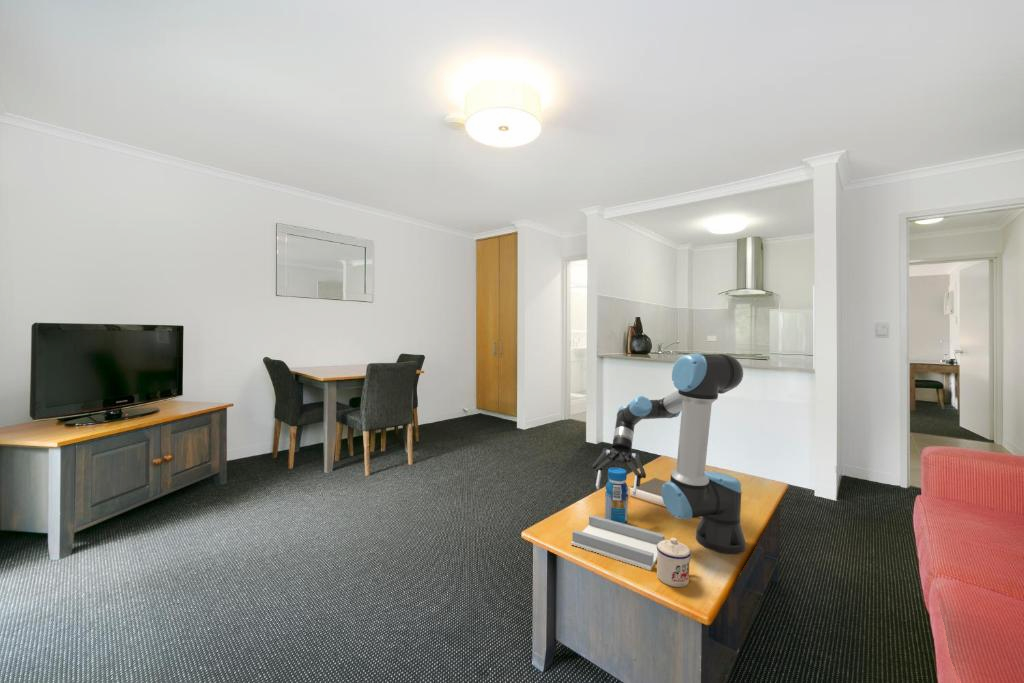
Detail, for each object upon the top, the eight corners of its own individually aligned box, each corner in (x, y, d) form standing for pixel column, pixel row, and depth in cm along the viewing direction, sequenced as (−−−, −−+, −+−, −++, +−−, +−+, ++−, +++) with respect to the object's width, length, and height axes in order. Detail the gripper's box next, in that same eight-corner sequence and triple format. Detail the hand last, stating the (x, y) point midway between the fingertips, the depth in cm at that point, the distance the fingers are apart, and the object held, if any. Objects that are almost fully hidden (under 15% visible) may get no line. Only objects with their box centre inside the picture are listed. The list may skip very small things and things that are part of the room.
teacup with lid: (674, 591, 115) (675, 550, 114) (649, 574, 123) (650, 535, 122) (703, 579, 120) (704, 540, 120) (677, 564, 128) (678, 526, 128)
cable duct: (665, 545, 140) (665, 533, 139) (650, 570, 124) (651, 557, 124) (592, 524, 154) (592, 513, 154) (571, 545, 139) (571, 533, 139)
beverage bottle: (599, 522, 156) (600, 469, 155) (614, 516, 161) (615, 465, 160) (617, 531, 149) (619, 475, 149) (632, 524, 154) (633, 471, 154)
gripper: (655, 449, 166) (651, 501, 152) (593, 442, 176) (583, 489, 162) (654, 439, 161) (650, 491, 147) (590, 432, 171) (580, 480, 157)
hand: (615, 490), depth 155 cm, fingers open, 13 cm apart
